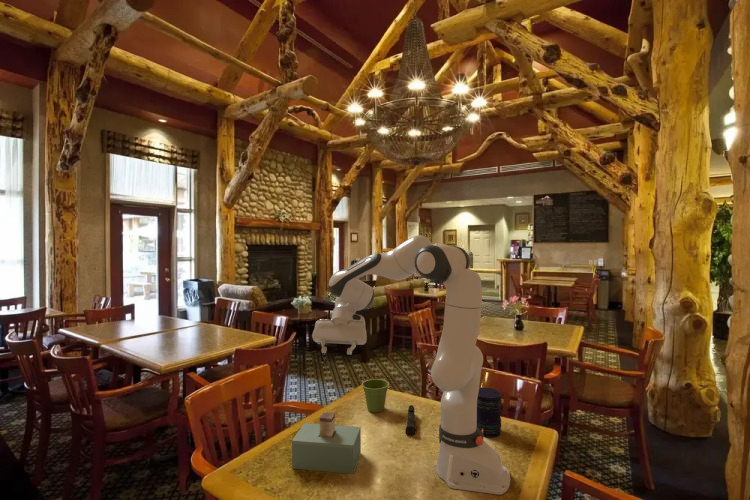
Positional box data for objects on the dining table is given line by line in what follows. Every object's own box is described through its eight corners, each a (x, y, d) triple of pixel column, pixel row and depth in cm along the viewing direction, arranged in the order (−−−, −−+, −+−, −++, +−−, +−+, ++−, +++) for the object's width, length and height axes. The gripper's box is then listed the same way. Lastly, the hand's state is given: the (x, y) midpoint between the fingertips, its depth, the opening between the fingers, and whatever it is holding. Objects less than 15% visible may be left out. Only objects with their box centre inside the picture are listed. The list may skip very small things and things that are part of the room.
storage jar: (475, 436, 143) (475, 396, 143) (473, 424, 153) (473, 387, 152) (503, 439, 141) (503, 398, 141) (499, 426, 151) (499, 388, 151)
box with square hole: (360, 453, 132) (360, 427, 132) (353, 473, 121) (353, 445, 120) (304, 448, 135) (304, 423, 135) (292, 468, 124) (291, 440, 123)
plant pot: (377, 401, 175) (377, 376, 175) (394, 410, 166) (394, 384, 166) (356, 408, 168) (356, 383, 167) (373, 418, 158) (373, 391, 158)
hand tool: (416, 437, 143) (416, 424, 143) (405, 436, 144) (405, 424, 144) (418, 414, 162) (418, 403, 162) (408, 414, 163) (408, 403, 163)
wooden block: (334, 442, 130) (334, 413, 129) (331, 449, 126) (331, 418, 125) (323, 442, 130) (323, 412, 130) (319, 448, 126) (319, 417, 126)
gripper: (314, 314, 148) (306, 347, 139) (367, 316, 145) (362, 350, 136) (318, 323, 153) (310, 355, 143) (369, 326, 150) (364, 358, 140)
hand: (336, 353), depth 139 cm, fingers open, 8 cm apart
